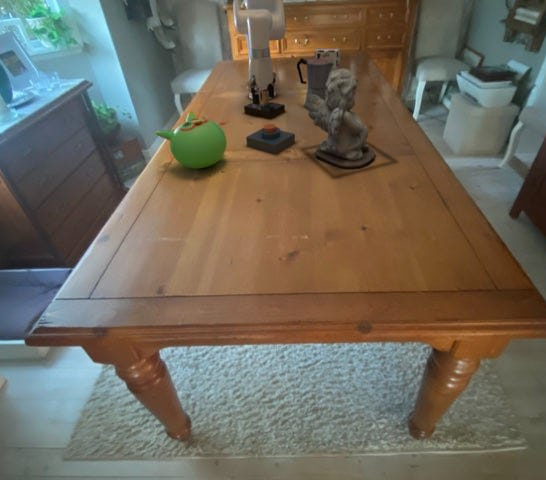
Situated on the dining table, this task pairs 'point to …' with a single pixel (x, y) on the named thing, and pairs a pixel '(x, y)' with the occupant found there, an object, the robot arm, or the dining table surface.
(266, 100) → the tan wooden block
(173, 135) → the toy bird
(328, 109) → the angel statue
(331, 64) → the moka pot
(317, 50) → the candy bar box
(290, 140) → the dark piece
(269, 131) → the release button
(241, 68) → the dining table surface
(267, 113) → the panel
